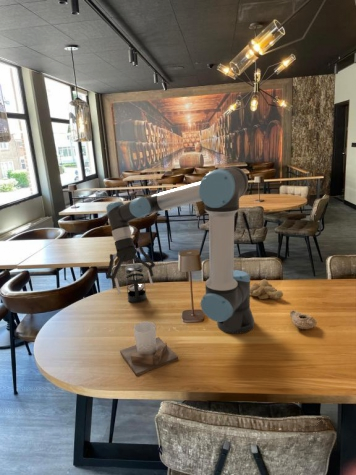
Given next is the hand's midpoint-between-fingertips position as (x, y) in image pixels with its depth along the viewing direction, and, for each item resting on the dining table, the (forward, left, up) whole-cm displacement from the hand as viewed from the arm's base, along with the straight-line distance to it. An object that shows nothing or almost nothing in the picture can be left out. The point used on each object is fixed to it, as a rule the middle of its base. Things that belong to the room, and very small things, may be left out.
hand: (135, 289), depth 139 cm
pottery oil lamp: (-64, -19, -18) cm, 69 cm away
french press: (+14, -25, -17) cm, 33 cm away
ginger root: (-45, -43, -18) cm, 65 cm away
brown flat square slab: (-13, +17, -17) cm, 27 cm away
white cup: (-11, +16, -16) cm, 26 cm away
